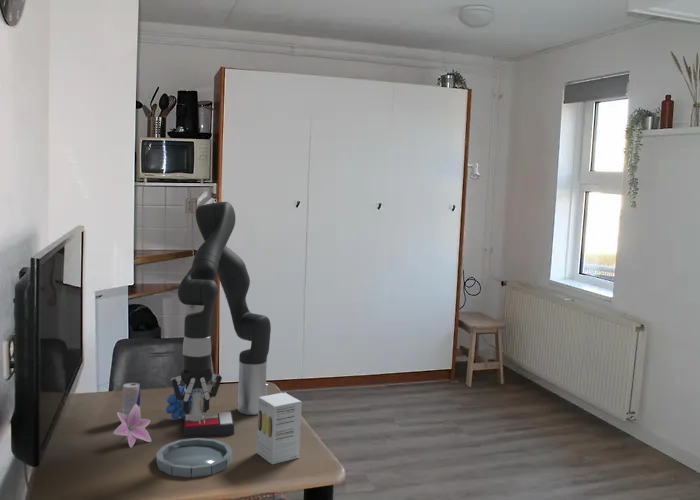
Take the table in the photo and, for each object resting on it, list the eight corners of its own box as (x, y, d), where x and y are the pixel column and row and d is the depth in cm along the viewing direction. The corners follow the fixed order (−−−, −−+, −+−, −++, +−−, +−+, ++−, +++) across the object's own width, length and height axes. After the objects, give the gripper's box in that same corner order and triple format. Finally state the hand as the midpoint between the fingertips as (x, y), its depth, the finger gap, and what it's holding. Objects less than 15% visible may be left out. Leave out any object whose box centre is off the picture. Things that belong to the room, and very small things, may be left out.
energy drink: (142, 419, 214) (143, 383, 213) (135, 425, 209) (136, 388, 208) (126, 418, 215) (127, 381, 213) (119, 424, 209) (119, 386, 208)
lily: (105, 453, 190) (119, 428, 187) (103, 424, 199) (116, 400, 197) (146, 458, 196) (159, 434, 194) (142, 430, 206) (155, 407, 203)
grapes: (197, 412, 223) (198, 377, 222) (203, 418, 217) (204, 383, 216) (162, 417, 217) (162, 381, 216) (167, 424, 211) (168, 387, 210)
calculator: (183, 413, 212) (231, 409, 215) (184, 426, 212) (232, 422, 216) (183, 426, 201) (234, 421, 205) (184, 440, 202) (234, 435, 205)
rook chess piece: (188, 415, 186) (189, 387, 185) (204, 415, 186) (205, 388, 186) (186, 421, 182) (186, 393, 181) (202, 421, 182) (203, 393, 181)
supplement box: (255, 453, 192) (257, 396, 191) (282, 446, 198) (284, 391, 196) (272, 465, 185) (274, 406, 183) (300, 458, 190) (302, 400, 189)
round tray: (223, 443, 198) (223, 435, 198) (238, 471, 180) (239, 462, 180) (153, 451, 190) (153, 442, 190) (162, 481, 172) (162, 472, 172)
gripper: (220, 347, 188) (218, 405, 190) (168, 349, 183) (167, 410, 185) (226, 353, 181) (224, 414, 183) (172, 357, 176) (170, 419, 178)
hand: (195, 412), depth 184 cm, fingers closed on rook chess piece, 4 cm apart
